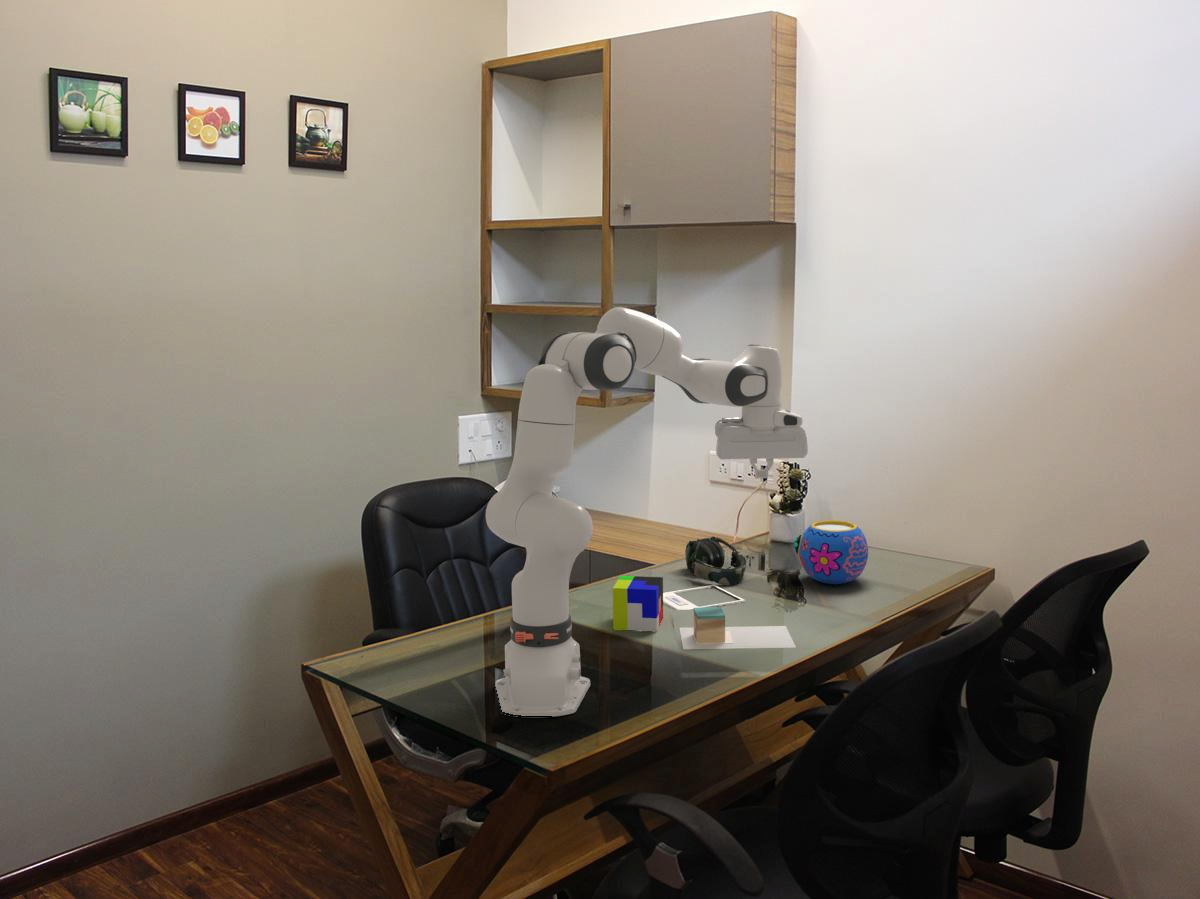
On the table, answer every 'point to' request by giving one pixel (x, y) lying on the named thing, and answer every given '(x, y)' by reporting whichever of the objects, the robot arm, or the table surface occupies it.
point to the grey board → (742, 638)
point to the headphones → (714, 561)
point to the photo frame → (683, 604)
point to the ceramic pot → (832, 551)
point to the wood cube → (709, 624)
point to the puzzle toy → (638, 603)
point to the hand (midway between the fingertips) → (761, 477)
